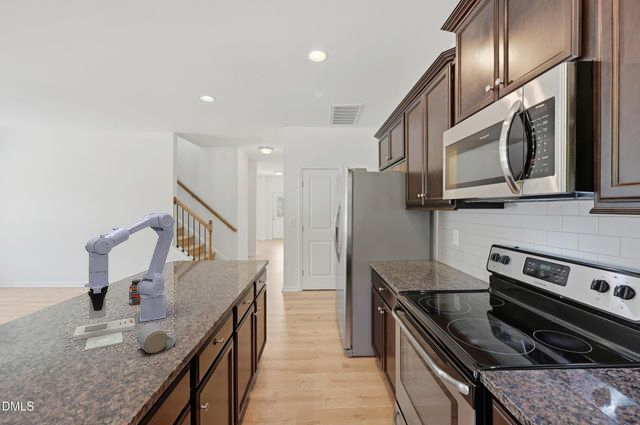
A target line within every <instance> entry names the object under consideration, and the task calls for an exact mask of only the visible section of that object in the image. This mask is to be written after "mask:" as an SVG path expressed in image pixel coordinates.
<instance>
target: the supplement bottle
mask: <svg viewBox="0 0 640 425" xmlns="http://www.w3.org/2000/svg"><path fill="white" fill-rule="evenodd" d="M140 281H141V279H140V278H139V279H138V278H137V279H132V280H131V284H130V285H129V291H128V292H129V293H128V294H129V295H128V304H129V305H130V306H137V304H138V305H141V297H140V294H139V293H138V292H137V285H138V283H139V282H140Z"/></svg>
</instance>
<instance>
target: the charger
mask: <svg viewBox="0 0 640 425" xmlns="http://www.w3.org/2000/svg"><path fill="white" fill-rule="evenodd" d="M106 297H107V294H106V295H105V298H104V302H103V307H102V310H100V311H94V309H93V304H92V301H91V298H90V297H89V301H88V304H89V305H88V306H89V308H88V309H89V310H88V312H89V313H88V315H89V318H88V320H95V319H102V318H105V317H106V314H107V312H106V311H107V308H106V307H107V300H106V299H107V298H106Z"/></svg>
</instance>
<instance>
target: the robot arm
mask: <svg viewBox="0 0 640 425" xmlns="http://www.w3.org/2000/svg"><path fill="white" fill-rule="evenodd" d="M174 225H175V220H174V218H173V216H172V214H170V213H168V212H166V213H155V212H151V213H149V214H147V215H144V216H143V217H142V218H140V219H137V220H136V221H135V222H132V223H131V224H129V225H127V226H125V227H122V226H118V227H117V226H115V227H112V230H111V231H108V232H106V233H101V234H100V235H99V237H93V238H90V239H89V240H88V241H87V243H86V245H85V246H84V249H85V251H86V252H87V253H88V283H84V288H89V291H88V292H87V295H88V297H89V299H90V298H91V301H92V304H93V309H94V311H100V310H102V307H103V302H104V298H105V295H106V296H107V294H108V292H109V290H108V289H109V284H110V281H109V253H110V252H111V251H112V249H113V248H114V247H117V246H118V245H120V244H122V243H124V242H126V241H128V240H129V239H130V236H131V235H134V234H135V233H137V232H139V231H142V230H144V229H146V228H148V227H149V228H151V230H153V231H154V232H155V233H156V234H157V236H158V237H157V238H158V239H157V241H156V244H155V248H154V251H153V254H152V256H151V260H150V262H149V263H150V264H149V267H148V270H147V272H146V273H144V274H143V275H142V277H141V279H140V280H141V281H140V282H139V283H138V285H137V292H138V293H139V294H140V297H141V304H140V315H139V316H138V318H139V322H140V323H143V322H149V321H154V320H161V319H165V318H167V297H166V294H163V293H164V290H165V280H166V279H165V278H164V275H163V272H164V268H165V266H166V262H167V258H168V255H169V251H170V249H171V248H170V247H171V245H172V241H173V238H174Z"/></svg>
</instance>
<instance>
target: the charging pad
mask: <svg viewBox="0 0 640 425" xmlns="http://www.w3.org/2000/svg"><path fill="white" fill-rule="evenodd" d="M86 339H87V340H86V343H85V347H84V352H87V351H88V352H89V351H93V350H98V349H103V348H108V347H113V346H118V345H122V344H123V332H119V333H113V334H108V335H102V336H97V337H91V338H86Z"/></svg>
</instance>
